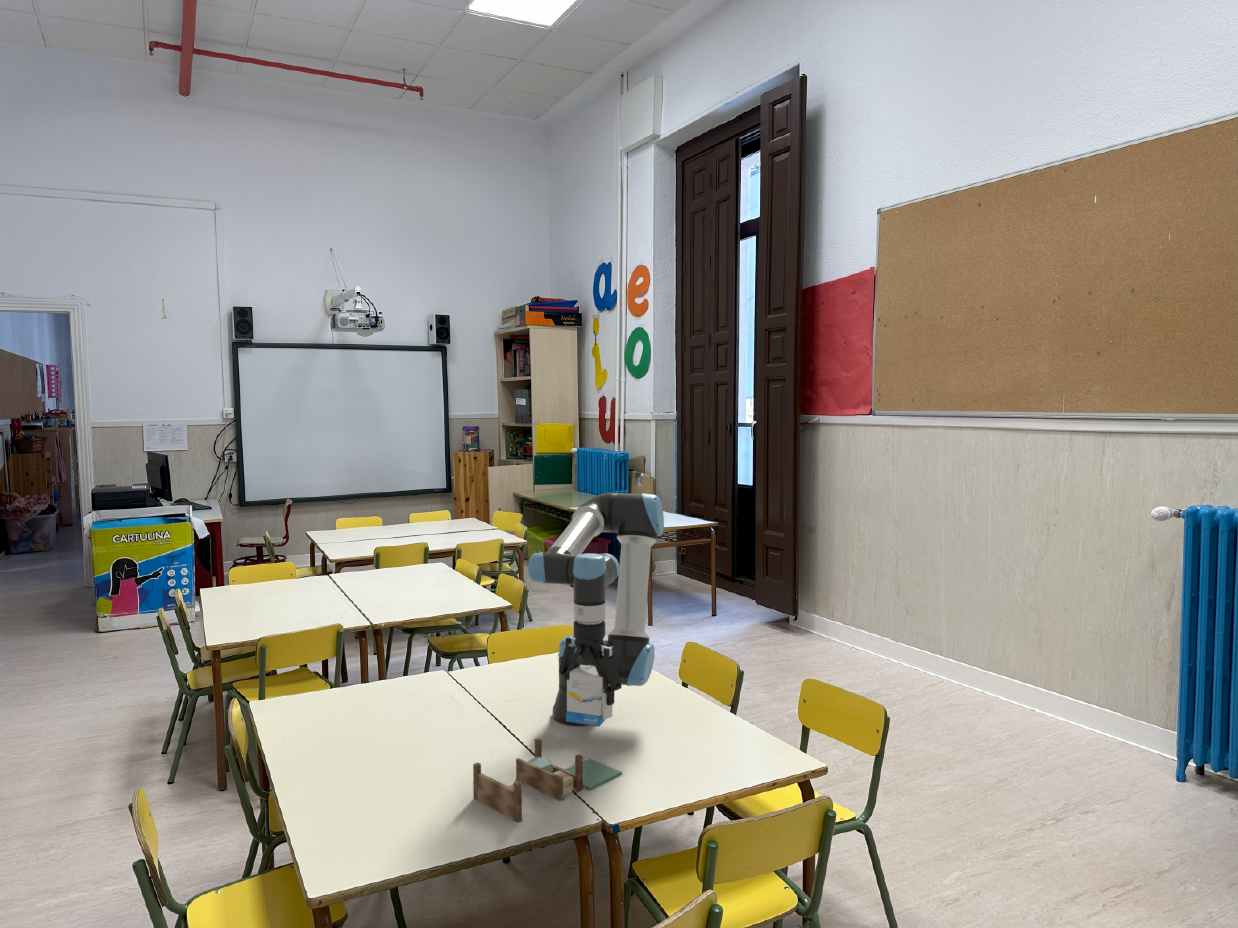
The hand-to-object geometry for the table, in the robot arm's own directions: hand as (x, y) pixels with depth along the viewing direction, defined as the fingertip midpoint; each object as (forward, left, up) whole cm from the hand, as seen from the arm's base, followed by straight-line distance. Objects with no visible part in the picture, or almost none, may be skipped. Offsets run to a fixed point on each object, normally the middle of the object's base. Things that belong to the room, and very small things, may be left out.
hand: (589, 711), depth 191 cm
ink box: (0, 0, -2) cm, 2 cm away
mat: (0, 0, -16) cm, 16 cm away
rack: (-4, -16, -16) cm, 23 cm away
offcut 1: (-7, -10, -14) cm, 18 cm away
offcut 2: (0, -10, -16) cm, 19 cm away
